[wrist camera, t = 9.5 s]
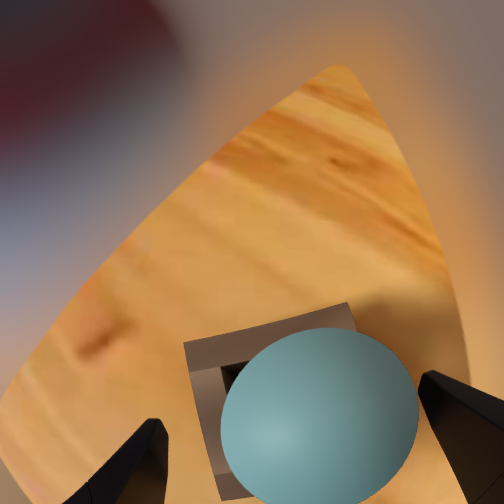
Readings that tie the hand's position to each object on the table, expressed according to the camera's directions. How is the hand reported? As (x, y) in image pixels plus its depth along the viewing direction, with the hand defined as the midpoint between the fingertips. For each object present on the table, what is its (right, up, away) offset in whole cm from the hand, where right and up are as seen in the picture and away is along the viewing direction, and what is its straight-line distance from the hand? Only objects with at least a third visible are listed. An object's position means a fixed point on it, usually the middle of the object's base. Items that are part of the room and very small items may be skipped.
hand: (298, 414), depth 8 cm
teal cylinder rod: (0, -4, +7) cm, 8 cm away
